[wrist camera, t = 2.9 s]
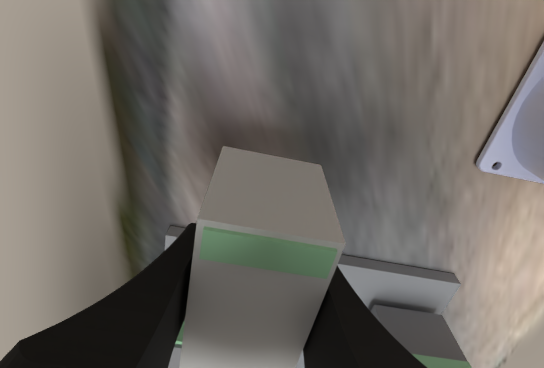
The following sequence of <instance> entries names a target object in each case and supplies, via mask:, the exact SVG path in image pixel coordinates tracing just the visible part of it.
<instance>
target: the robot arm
mask: <svg viewBox="0 0 544 368" xmlns="http://www.w3.org/2000/svg"><path fill="white" fill-rule="evenodd" d="M495 162H497V164H496V165H495V166H494V167H492V165H493V164H494V163H495ZM476 166H477V167H478V169H480V170H481V171H483V172H488V173H493V174H498V175H503V176H508V177H513V178H518V179H522V180H527V181H532V182H537V183H542V184H544V42H543V43H542V45H541V47H540V49H539V50H538V52H537V54H536V56H535V58H534V59H533V61H532V63H531V65H530V67H529V68H528V70H527V72H526V74H525V75H524V77H523V79H522V81H521V83H520V84H519V86H518V88H517V90H516V92H515V93H514V95H513V97H512V99H511V100H510V102H509V104H508V106H507V108H506V109H505V111H504V113H503V115H502V117H501V118H500V120H499V122H498V124H497V125H496V127H495V129H494V131H493V133H492V134H491V136H490V138H489V140H488V142H487V143H486V145H485V147H484V149H483V150H482V152H481V154H480V156H479V158H478V159H477V162H476ZM196 225H197V224H196V223H191V224H189V225H188V226H187V227H186V229H185V230H184V231H183V232H182V233H181V234H180V236H179V237H178V238H177V239H176V240H175V241H174V242H173V243H172V244H171V245H170V246H169V247H168V248H167V249H166V250H165V251H164V252H163V253H162V254H161V255H160V256H159V257H158V258H156V259H155V260H154V261H153V262H152V263H151V264H150V265H148V266H147V267H146V268H145V269H144V270H143V271H141V272H140V273H139V274H137V275H136V276H135V277H134V278H132V279H131V280H130V281H128V282H127V283H125V284H124V285H123V286H121V287H120V288H118V289H117V290H115V291H114V292H112V293H111V294H109V295H108V296H106V297H105V298H103V299H102V300H100V301H98V302H97V303H95V304H93V305H92V306H90V307H88V308H86V309H85V310H83V311H81V312H79V313H77V314H75V315H73V316H72V317H70V318H68V319H66V320H64V321H62V322H60V323H58V324H56V325H54V326H52V327H49V328H47V329H45V330H43V331H41V332H38V333H36V334H34V335H32V336H30V337H27V338H25V339H23V340H20V341H19V342H18V343H17V344H16V345H15V346H14V347H13V349H12V350H11V351H10V352H9V353H8V354H7V355H6V356H5V357H4V358H3V359H2V360H1V361H0V368H168V366H169V362H170V359H171V355H172V352H173V349H174V346H175V343H176V340H177V337H178V335H179V332H180V330H181V327H182V324H183V322H184V319H185V316H186V307H187V299H188V291H189V283H190V274H191V266H192V258H193V249H194V241H195V233H196ZM303 356H304V366H305V368H427V367H426V366H425V365H423V364H422V363H421V362H420V361H419V360H418V359H417V358H415V357H414V356H413V355H412V354H411V353H410V352H409V351H408V350H407V349H406V348H405V347H404V346H403V345H402V344H401V343H399V342H398V341H397V340H396V339H395V338H394V337H393V336H392V335H391V334H390V333H389V332H388V330H387V329H386V328H385V327H384V326H383V325H382V324H381V323H380V322H379V321H378V319H377V318H376V317H375V316H374V315H373V314H372V313H371V311H370V310H369V309H368V308H367V307H366V305H365V304H364V303H363V301H362V300H361V299H360V297H359V296H358V295H357V294H356V292H355V291H354V289H353V288H352V287H351V285H350V284H349V282H348V281H347V279H346V278H345V276H344V275H343V273H342V272H341V270H340V269H339V267H338V266H337V267H336V269H335V272H334V274H333V277H332V279H331V282H330V284H329V286H328V289H327V291H326V294H325V296H324V299H323V301H322V304H321V306H320V309H319V311H318V314H317V316H316V318H315V321H314V323H313V326H312V328H311V331H310V333H309V336H308V338H307V341H306V343H305V345H304V348H303Z"/></svg>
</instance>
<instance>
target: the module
mask: <svg viewBox="0 0 544 368" xmlns="http://www.w3.org/2000/svg"><path fill="white" fill-rule="evenodd" d="M345 245H346V243H345V240H344V237H343V234H342V230H341V227H340V224H339V221H338V218H337V214H336V211H335V208H334V205H333V202H332V198H331V195H330V192H329V189H328V186H327V182H326V179H325V176H324V173H323V170H322V166H321V165H319V164H314V163H309V162H304V161H299V160H293V159H288V158H283V157H278V156H273V155H268V154H263V153H257V152H252V151H247V150H242V149H237V148H232V147H226V146H223V148H222V150H221V153H220V156H219V159H218V162H217V164H216V167H215V170H214V173H213V176H212V179H211V181H210V184H209V187H208V190H207V193H206V195H205V198H204V201H203V204H202V207H201V209H200V212H199V215H198V218H197V225H196V233H195V241H194V249H193V258H192V266H191V274H190V283H189V291H188V299H187V307H186V316H185V324H184V332H183V341H182V349H181V357H180V365H179V368H296V365H297V363H298V360H299V358H300V355H301V353H302V350H303V348H304V345H305V343H306V341H307V338H308V336H309V333H310V331H311V328H312V326H313V323H314V321H315V318H316V316H317V314H318V311H319V309H320V306H321V304H322V301H323V299H324V296H325V294H326V291H327V289H328V286H329V284H330V282H331V279H332V277H333V274H334V272H335V269H336V267H337V264H338V262H339V259H340V257H341V255H342V252H343V250H344V247H345Z"/></svg>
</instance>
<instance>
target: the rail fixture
mask: <svg viewBox="0 0 544 368" xmlns="http://www.w3.org/2000/svg"><path fill="white" fill-rule="evenodd" d="M185 229H186V228H180V227H174V226H170V227H169V229H168V232H167V234H166V239H165V250H166V249H167V248H168V247H169V246H170V245H171V244H172V243H173V242H174V241H175V240H176V239H177V238H178V237H179V236H180V234H181V233H182V232H183V231H184V230H185ZM337 266H338V267H339V269H340V270H341V272H342V273H343V275H344V276H345V278H346V279H347V281H348V282H349V284H350V285H351V287H352V288H353V289H354V291H355V292H356V294H357V295H358V296H359V297H360V299H361V300H362V301H363V303H364V304H365V305H366V307H367V308H368V309H369V310H370V311H371V313H372V314H373V315H374V316H375V317H376V318H377V319H378V321H379V322H380V323H381V324H382V325H383V326H384V327H385V328H386V329H387V330H388V332H389V333H390V334H391V335H392V336H393V337H394V338H395V339H396V340H397V341H398V342H399V343H401V344H402V345H403V346H404V347H405V348H406V349H407V350H408V351H409V352H410V353H411V354H412V355H413V356H414V357H415V358H417V359H418V360H419V361H420V362H421V363H422V364H423V365H425V366H426V367H427V368H471V366H470V364H469V362H468V361H467V360H466V358H465V356H464V354H463V352H462V350H461V349H460V347H459V345H458V343H457V341H456V340H455V338H454V336H453V334H452V332H451V330H450V329H449V327H448V325H447V323H446V321H445V320H444V318H443V316H442V315H441V314H442V312H443V311H444V309H445V308H446V306H447V305H448V303H449V302H450V300H451V299H452V297H453V296H454V294H455V293H456V291H457V290H458V288H459V287H460V285H461V283H460V282H459V280H458V279H457V277H456V276H455V274H453V273H447V272H441V271H435V270H429V269H423V268H417V267H411V266H406V265H400V264H394V263H388V262H382V261H376V260H370V259H364V258H358V257H352V256H346V255H341V257H340V259H339V262H338V264H337ZM184 324H185V319H184V322H183V324H182V327H181V330H180V332H179V335H178V337H177V340H176V343H175V346H174V349H173V352H172V355H171V359H170V362H169V366H168V368H179V365H180V357H181V349H182V341H183V332H184ZM296 368H305V366H304V356H303V350H302V353H301V355H300V358H299V360H298V363H297V365H296Z"/></svg>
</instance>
